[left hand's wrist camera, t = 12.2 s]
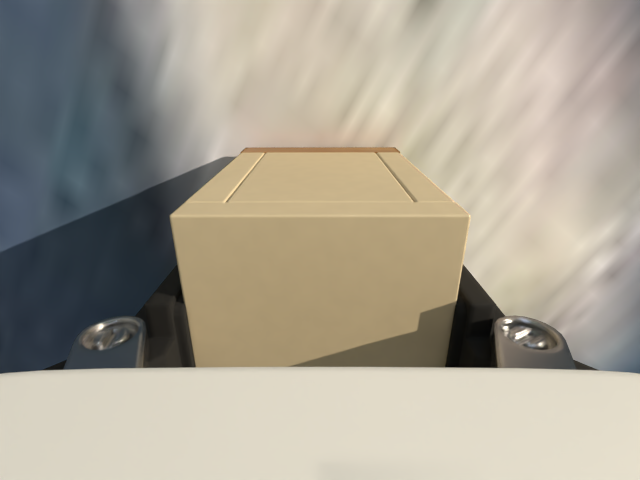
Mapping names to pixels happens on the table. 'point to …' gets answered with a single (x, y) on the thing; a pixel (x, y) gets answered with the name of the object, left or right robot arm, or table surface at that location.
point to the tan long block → (320, 261)
